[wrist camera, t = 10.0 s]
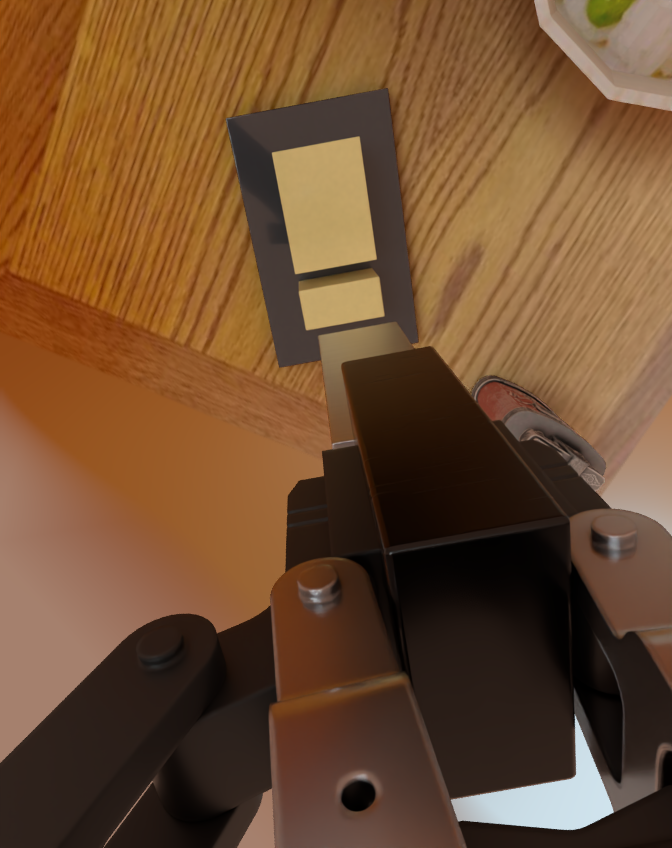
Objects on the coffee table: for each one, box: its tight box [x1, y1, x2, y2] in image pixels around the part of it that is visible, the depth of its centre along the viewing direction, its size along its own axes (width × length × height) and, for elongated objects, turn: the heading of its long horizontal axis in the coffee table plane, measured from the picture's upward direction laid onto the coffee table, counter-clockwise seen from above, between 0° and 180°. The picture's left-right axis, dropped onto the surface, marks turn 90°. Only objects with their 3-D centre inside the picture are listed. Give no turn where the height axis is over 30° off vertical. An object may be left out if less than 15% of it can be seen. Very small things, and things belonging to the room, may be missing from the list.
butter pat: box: [299, 268, 385, 330], centre depth 39 cm, size 5×2×4 cm, turn 100°
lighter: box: [472, 375, 606, 491], centre depth 41 cm, size 8×3×10 cm, turn 57°
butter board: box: [226, 88, 418, 367], centre depth 38 cm, size 10×16×5 cm, turn 10°
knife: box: [318, 322, 576, 800], centre depth 15 cm, size 3×4×17 cm
